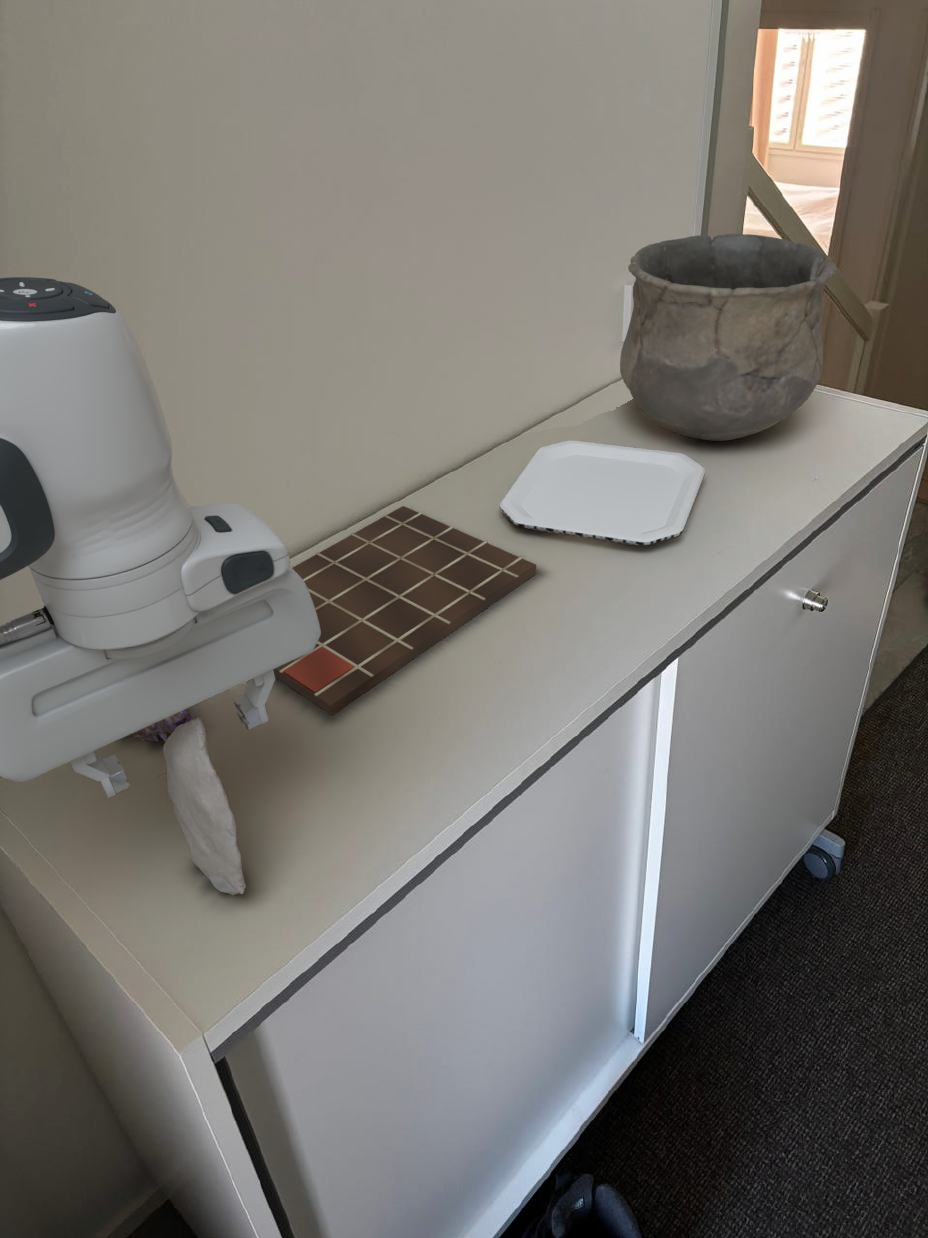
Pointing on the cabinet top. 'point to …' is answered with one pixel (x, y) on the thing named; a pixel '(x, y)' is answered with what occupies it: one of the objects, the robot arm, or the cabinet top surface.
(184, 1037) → the cabinet top surface
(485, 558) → the board
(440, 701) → the cabinet top surface
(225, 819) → the stone tool
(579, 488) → the plate
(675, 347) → the pot
